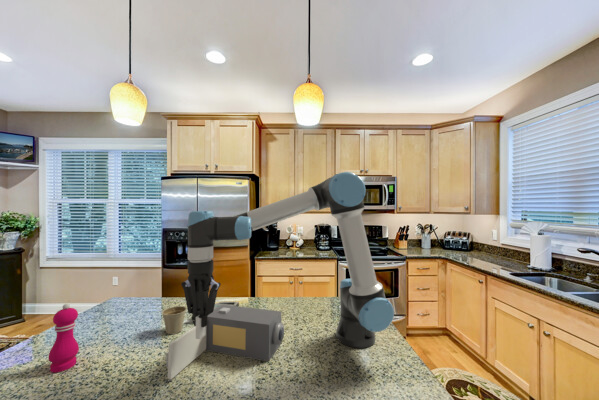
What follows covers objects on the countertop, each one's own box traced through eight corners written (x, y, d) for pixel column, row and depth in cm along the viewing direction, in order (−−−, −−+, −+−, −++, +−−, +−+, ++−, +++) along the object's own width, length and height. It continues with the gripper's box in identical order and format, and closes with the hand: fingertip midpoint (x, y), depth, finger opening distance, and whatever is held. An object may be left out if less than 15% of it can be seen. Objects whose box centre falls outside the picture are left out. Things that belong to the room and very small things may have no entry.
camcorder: (237, 320, 116) (238, 309, 117) (190, 324, 112) (191, 312, 112) (238, 308, 132) (239, 298, 132) (197, 311, 128) (197, 300, 128)
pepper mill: (75, 357, 86) (78, 298, 87) (80, 365, 82) (83, 303, 83) (46, 367, 81) (49, 304, 82) (49, 377, 76) (52, 309, 77)
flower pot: (164, 339, 99) (164, 316, 99) (159, 330, 106) (159, 309, 107) (189, 331, 105) (189, 310, 105) (182, 324, 112) (183, 304, 113)
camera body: (287, 344, 95) (287, 309, 96) (275, 362, 83) (276, 323, 84) (221, 334, 103) (222, 302, 103) (202, 349, 91) (203, 313, 92)
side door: (171, 379, 73) (172, 344, 74) (165, 378, 74) (166, 343, 74) (206, 348, 90) (206, 320, 90) (201, 348, 90) (201, 319, 91)
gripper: (225, 258, 81) (225, 333, 79) (191, 257, 84) (191, 329, 83) (211, 263, 73) (211, 345, 72) (174, 261, 77) (174, 340, 76)
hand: (200, 336), depth 78 cm, fingers closed
